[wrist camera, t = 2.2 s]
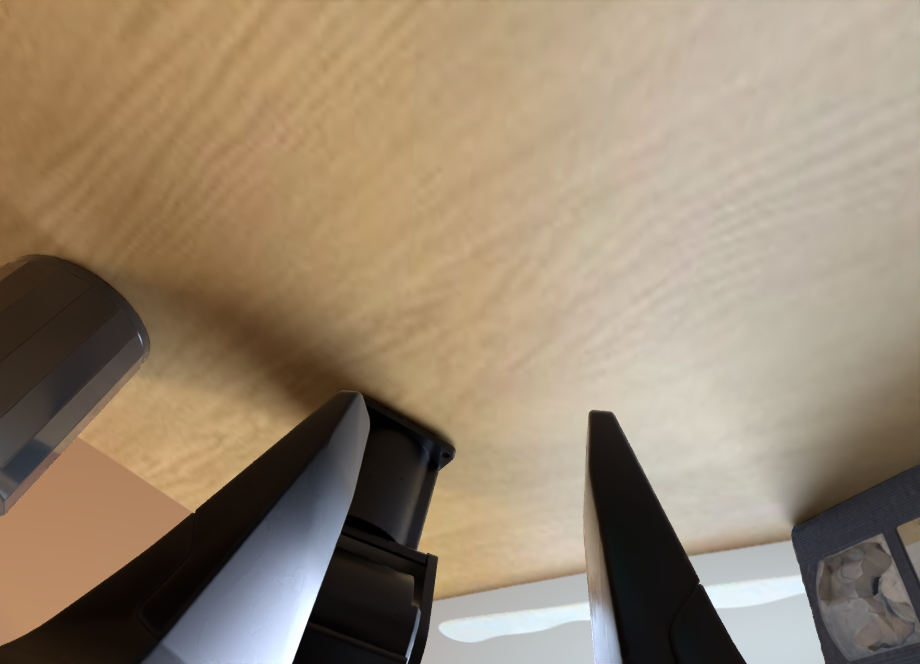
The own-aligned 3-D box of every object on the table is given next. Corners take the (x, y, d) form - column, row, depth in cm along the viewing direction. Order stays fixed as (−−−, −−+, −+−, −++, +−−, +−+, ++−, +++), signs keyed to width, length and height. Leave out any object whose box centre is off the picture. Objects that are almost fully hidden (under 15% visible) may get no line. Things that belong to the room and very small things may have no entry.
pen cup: (162, 311, 28) (4, 470, 21) (138, 389, 33) (4, 539, 26) (6, 225, 27) (-228, 365, 19) (6, 321, 32) (-178, 462, 24)
